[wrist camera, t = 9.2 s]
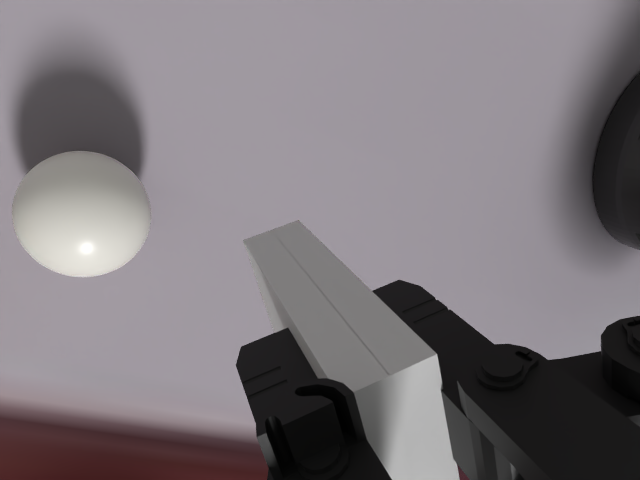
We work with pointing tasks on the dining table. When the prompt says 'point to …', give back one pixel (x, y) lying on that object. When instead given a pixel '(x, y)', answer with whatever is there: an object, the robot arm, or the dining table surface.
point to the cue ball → (81, 214)
